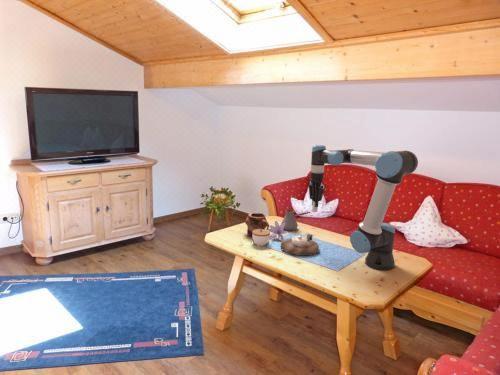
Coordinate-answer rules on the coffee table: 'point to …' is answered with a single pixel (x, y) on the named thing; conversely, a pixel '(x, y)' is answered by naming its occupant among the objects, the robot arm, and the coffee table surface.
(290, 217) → the coffee pot
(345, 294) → the coffee table surface
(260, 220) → the decorative planter
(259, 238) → the lidded jar
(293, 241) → the lid
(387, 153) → the robot arm
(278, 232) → the water lily
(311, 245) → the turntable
